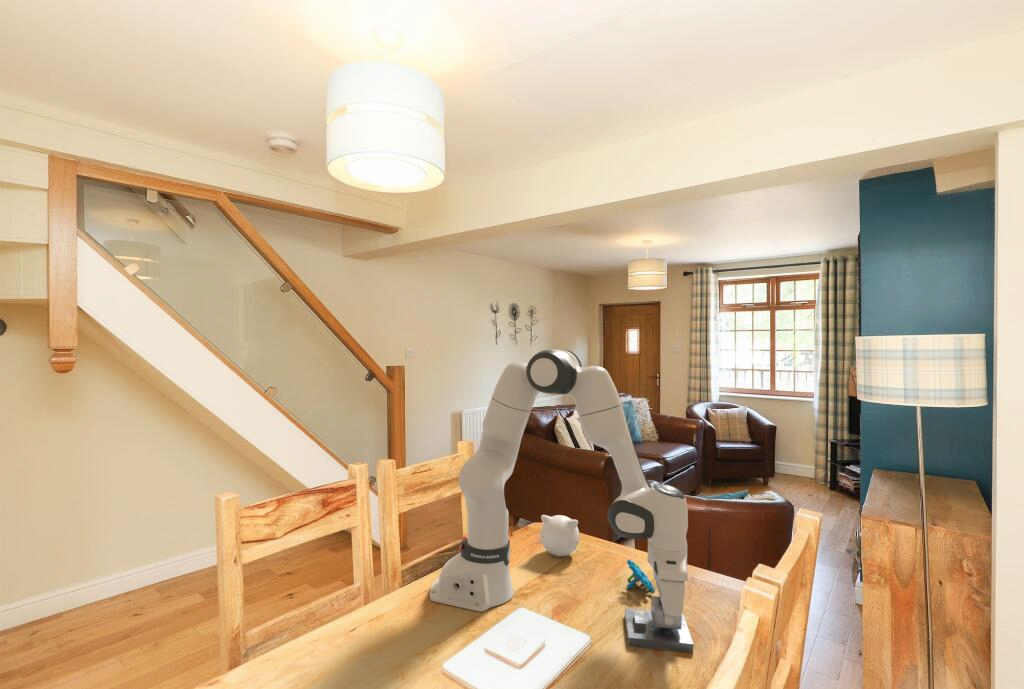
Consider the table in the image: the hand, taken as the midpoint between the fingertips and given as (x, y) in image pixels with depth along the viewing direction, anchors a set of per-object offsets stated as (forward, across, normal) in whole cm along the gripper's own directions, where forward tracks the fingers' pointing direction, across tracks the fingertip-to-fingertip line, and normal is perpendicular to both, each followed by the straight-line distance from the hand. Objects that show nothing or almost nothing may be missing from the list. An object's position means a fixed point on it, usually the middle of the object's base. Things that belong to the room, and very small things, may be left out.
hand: (665, 614), depth 118 cm
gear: (+5, -21, -4) cm, 22 cm away
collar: (+2, 0, 0) cm, 2 cm away
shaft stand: (+5, 0, -2) cm, 5 cm away
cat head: (+5, -38, -27) cm, 47 cm away
